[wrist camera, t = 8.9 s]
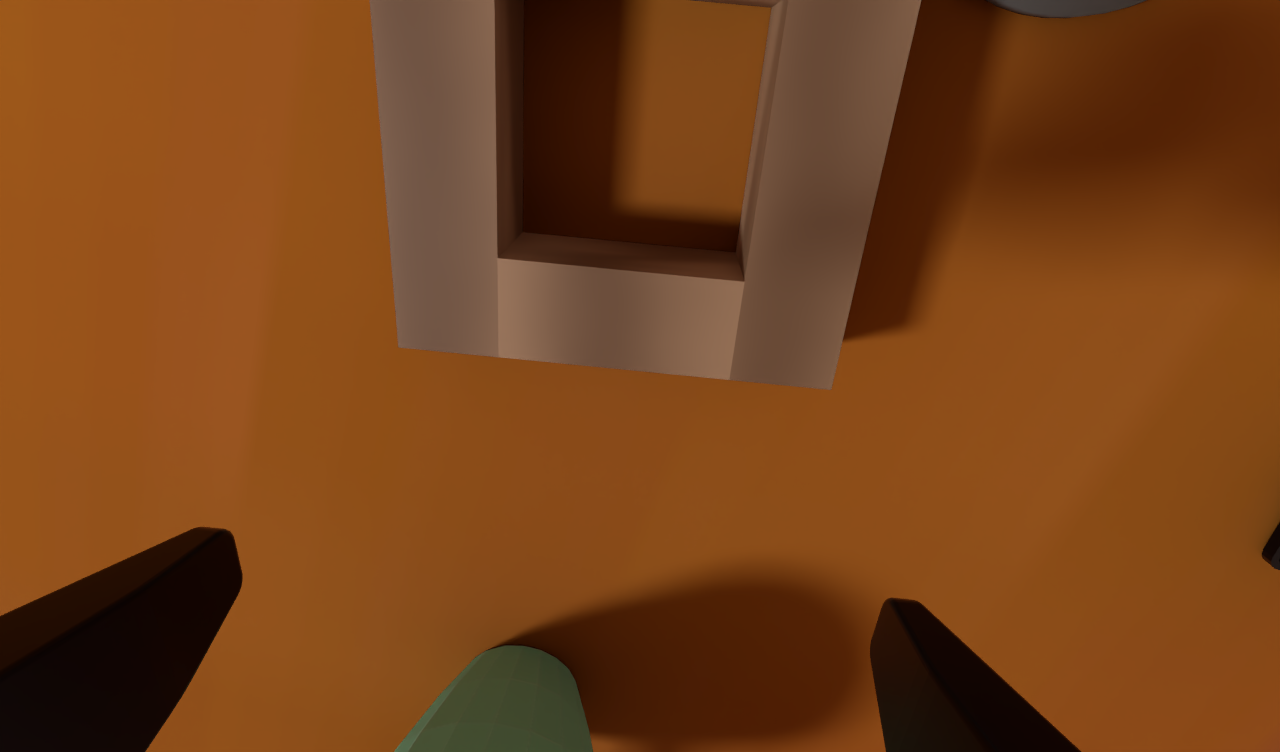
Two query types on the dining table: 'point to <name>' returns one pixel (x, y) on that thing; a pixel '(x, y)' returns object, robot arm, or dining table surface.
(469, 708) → the mug
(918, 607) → the robot arm
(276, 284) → the dining table surface
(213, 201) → the dining table surface
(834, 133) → the frame
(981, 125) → the dining table surface
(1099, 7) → the coaster
